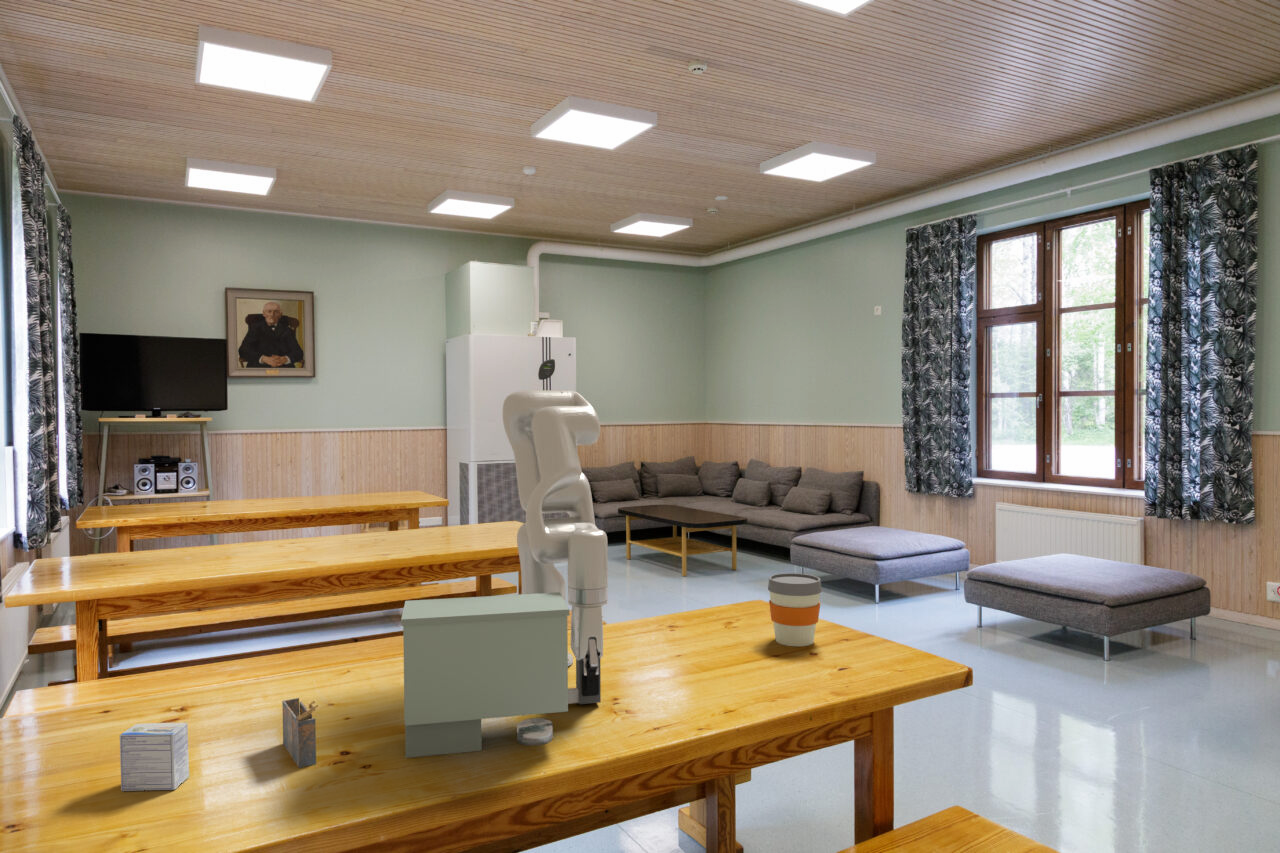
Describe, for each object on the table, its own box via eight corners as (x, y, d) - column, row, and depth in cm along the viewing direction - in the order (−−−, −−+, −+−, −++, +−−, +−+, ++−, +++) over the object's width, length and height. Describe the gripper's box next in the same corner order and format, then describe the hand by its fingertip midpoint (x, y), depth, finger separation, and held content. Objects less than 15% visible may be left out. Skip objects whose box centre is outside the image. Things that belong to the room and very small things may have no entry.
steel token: (515, 734, 142) (515, 719, 142) (550, 731, 144) (550, 716, 144) (518, 748, 137) (518, 733, 137) (554, 744, 138) (554, 730, 138)
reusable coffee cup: (780, 650, 189) (781, 585, 189) (759, 635, 201) (759, 574, 201) (830, 646, 192) (831, 582, 192) (807, 632, 204) (807, 571, 204)
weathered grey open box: (319, 765, 131) (318, 705, 131) (298, 770, 129) (297, 709, 129) (302, 741, 140) (301, 685, 140) (283, 746, 138) (282, 688, 138)
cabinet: (407, 733, 143) (405, 600, 142) (560, 719, 148) (559, 592, 148) (402, 764, 130) (401, 619, 130) (570, 747, 136) (569, 609, 136)
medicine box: (190, 777, 126) (189, 721, 126) (174, 791, 121) (173, 733, 121) (137, 778, 126) (136, 722, 125) (119, 792, 121) (118, 734, 121)
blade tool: (502, 702, 155) (501, 655, 154) (596, 695, 159) (596, 648, 158) (503, 710, 151) (503, 661, 151) (600, 702, 155) (600, 654, 155)
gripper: (562, 586, 163) (562, 678, 164) (574, 606, 147) (575, 708, 147) (599, 584, 165) (600, 675, 165) (616, 604, 148) (616, 705, 149)
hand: (588, 690), depth 156 cm, fingers closed on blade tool, 4 cm apart
